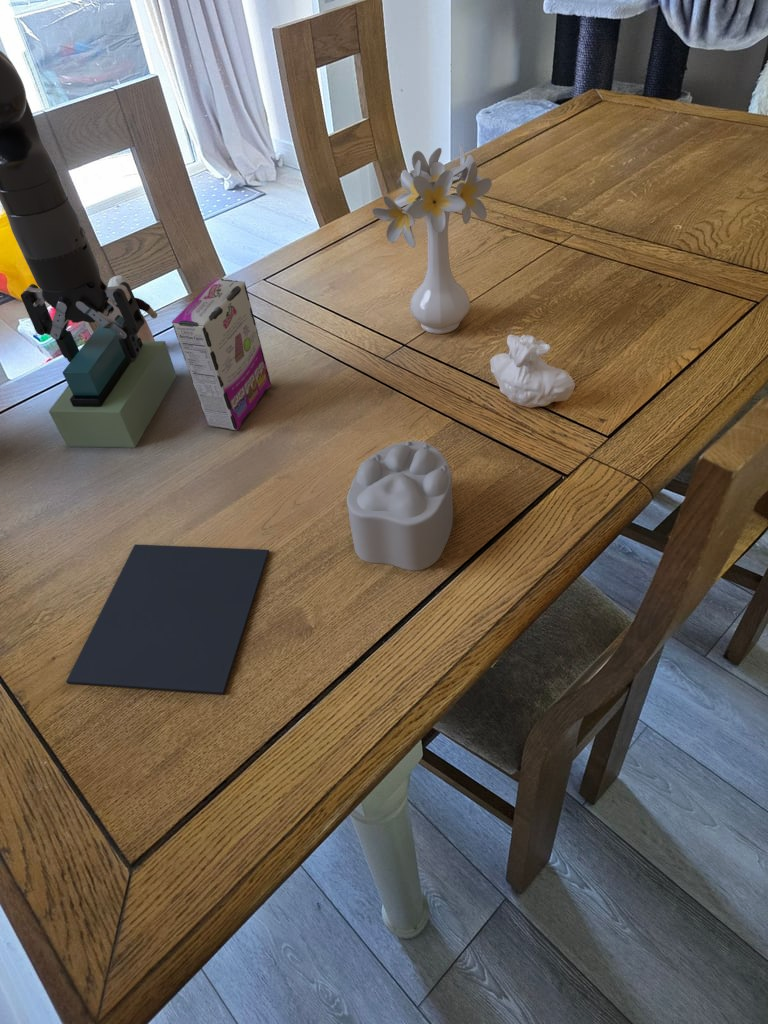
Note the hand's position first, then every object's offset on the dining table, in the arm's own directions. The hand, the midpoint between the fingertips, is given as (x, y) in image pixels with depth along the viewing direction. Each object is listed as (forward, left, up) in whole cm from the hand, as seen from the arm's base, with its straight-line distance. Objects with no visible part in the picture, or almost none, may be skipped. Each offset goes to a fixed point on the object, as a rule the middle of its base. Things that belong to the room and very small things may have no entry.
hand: (104, 359), depth 94 cm
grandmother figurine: (-3, +15, -9) cm, 18 cm away
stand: (0, 0, -9) cm, 9 cm away
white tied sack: (+57, +3, -9) cm, 58 cm away
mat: (+20, -35, -9) cm, 41 cm away
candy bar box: (+17, +1, -9) cm, 19 cm away
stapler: (0, 0, -3) cm, 3 cm away
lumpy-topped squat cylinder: (+43, -21, -9) cm, 48 cm away
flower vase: (+44, +22, -9) cm, 50 cm away
